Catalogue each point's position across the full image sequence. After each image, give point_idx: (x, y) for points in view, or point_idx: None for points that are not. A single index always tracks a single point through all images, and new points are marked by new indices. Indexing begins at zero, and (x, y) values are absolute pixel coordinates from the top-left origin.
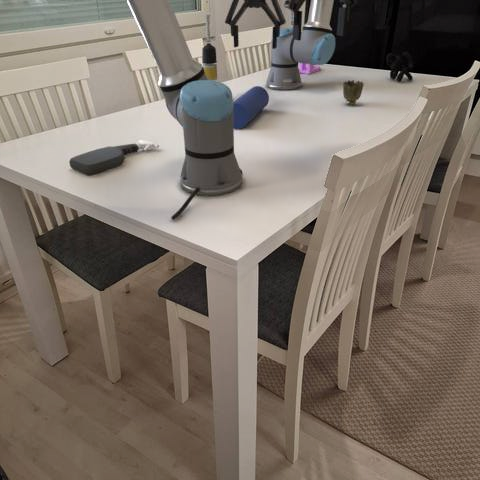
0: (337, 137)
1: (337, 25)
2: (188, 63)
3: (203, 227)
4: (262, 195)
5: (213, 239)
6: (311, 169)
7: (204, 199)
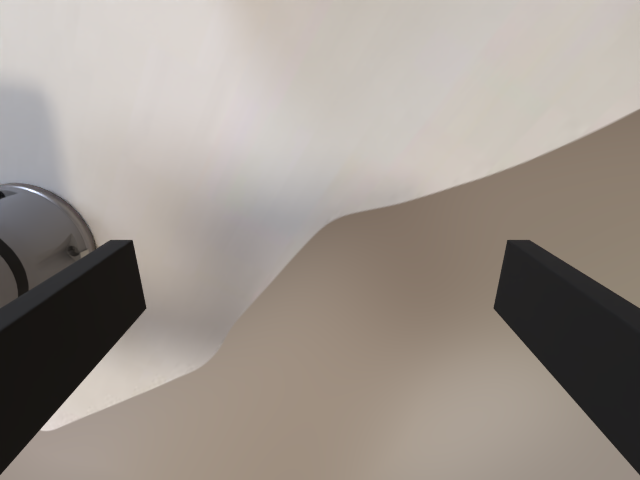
0: (423, 131)
1: (547, 269)
2: None
3: None
4: None
5: None
6: (249, 271)
7: None
